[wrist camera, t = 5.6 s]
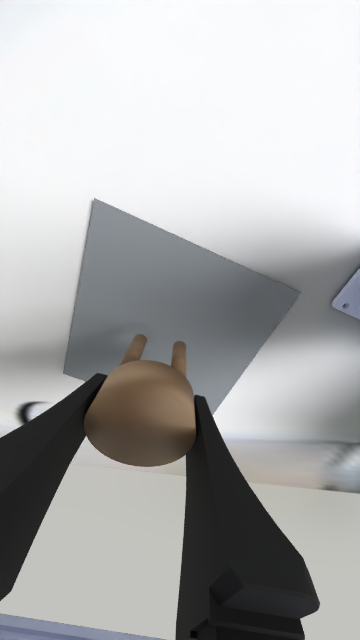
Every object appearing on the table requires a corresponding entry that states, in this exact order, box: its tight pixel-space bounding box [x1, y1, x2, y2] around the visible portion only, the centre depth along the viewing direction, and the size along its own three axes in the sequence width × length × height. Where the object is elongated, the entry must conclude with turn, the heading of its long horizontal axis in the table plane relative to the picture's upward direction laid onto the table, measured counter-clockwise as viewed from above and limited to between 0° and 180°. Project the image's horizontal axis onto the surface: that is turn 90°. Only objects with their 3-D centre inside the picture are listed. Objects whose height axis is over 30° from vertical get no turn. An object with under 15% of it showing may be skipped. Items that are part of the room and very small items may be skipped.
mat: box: [63, 198, 301, 415], centre depth 18 cm, size 18×18×1 cm
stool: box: [84, 334, 196, 467], centre depth 11 cm, size 5×5×6 cm
